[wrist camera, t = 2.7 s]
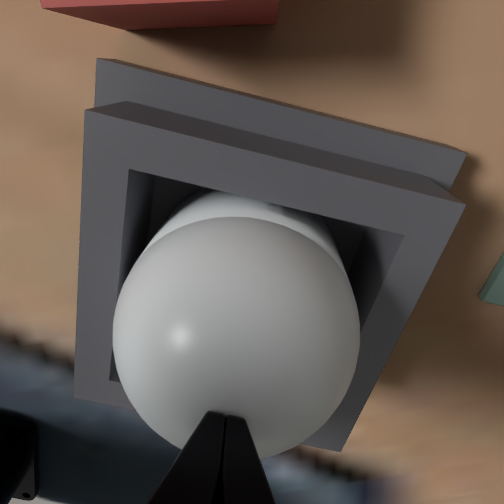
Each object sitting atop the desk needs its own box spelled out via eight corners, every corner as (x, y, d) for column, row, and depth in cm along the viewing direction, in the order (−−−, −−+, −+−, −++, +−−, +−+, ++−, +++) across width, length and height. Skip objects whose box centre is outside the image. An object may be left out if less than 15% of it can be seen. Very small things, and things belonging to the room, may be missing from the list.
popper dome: (306, 359, 16) (329, 545, 10) (143, 324, 16) (59, 494, 9) (366, 207, 13) (452, 334, 7) (166, 158, 13) (63, 246, 6)
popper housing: (338, 386, 19) (356, 473, 15) (95, 334, 18) (45, 411, 14) (448, 145, 14) (522, 177, 10) (114, 59, 13) (43, 54, 9)
